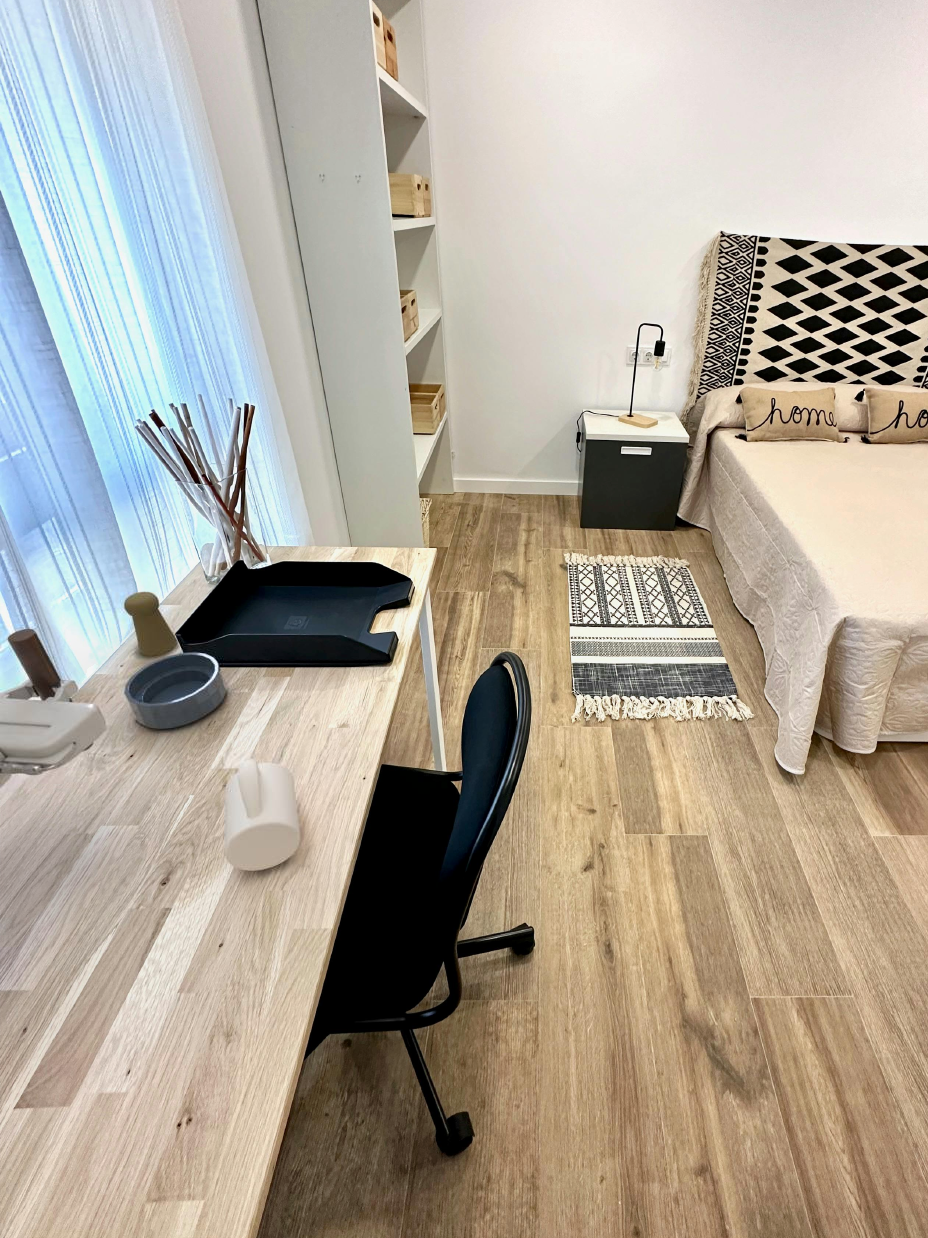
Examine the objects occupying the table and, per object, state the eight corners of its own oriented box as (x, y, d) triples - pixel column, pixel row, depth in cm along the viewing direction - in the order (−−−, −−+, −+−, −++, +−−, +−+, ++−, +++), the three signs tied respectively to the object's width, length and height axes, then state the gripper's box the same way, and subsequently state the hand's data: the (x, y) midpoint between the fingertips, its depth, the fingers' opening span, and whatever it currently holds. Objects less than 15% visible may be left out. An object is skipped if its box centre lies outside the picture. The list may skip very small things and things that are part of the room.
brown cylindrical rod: (66, 754, 79) (1, 642, 69) (76, 739, 81) (15, 629, 72) (87, 752, 79) (27, 640, 70) (97, 737, 81) (39, 627, 72)
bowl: (121, 735, 94) (108, 709, 91) (156, 680, 105) (145, 655, 102) (212, 728, 96) (203, 702, 93) (237, 674, 107) (228, 649, 104)
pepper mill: (172, 632, 117) (154, 583, 111) (180, 647, 113) (161, 597, 107) (136, 644, 114) (115, 594, 108) (143, 660, 110) (121, 609, 104)
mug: (234, 880, 74) (207, 816, 68) (234, 815, 82) (209, 752, 76) (306, 856, 77) (286, 793, 71) (299, 796, 85) (280, 733, 79)
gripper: (37, 753, 62) (127, 668, 74) (-154, 741, 63) (-35, 658, 74) (62, 795, 65) (144, 707, 77) (-119, 783, 66) (-10, 697, 78)
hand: (55, 683), depth 76 cm, fingers closed on brown cylindrical rod, 2 cm apart
